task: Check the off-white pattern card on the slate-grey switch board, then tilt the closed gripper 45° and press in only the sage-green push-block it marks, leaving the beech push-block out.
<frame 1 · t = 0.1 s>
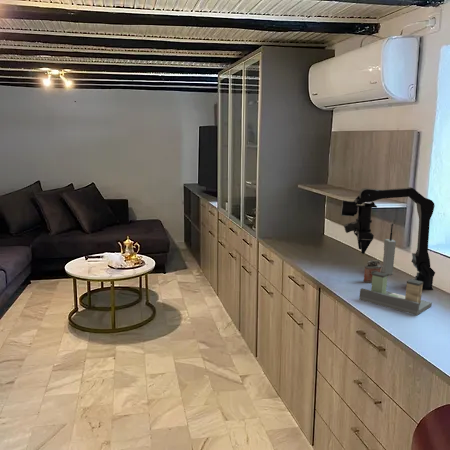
hand: (361, 251, 208), 15 cm above the cabinet, tool pointing down, fingers open, 9 cm apart
sage block: (379, 284, 188), point 6 cm above the cabinet, slide at 0.0 cm
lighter: (371, 282, 213), on the cabinet
beech block: (413, 292, 179), point 6 cm above the cabinet, slide at 0.0 cm
switch board: (391, 304, 182), on the cabinet
grey upright bar: (386, 273, 228), on the cabinet
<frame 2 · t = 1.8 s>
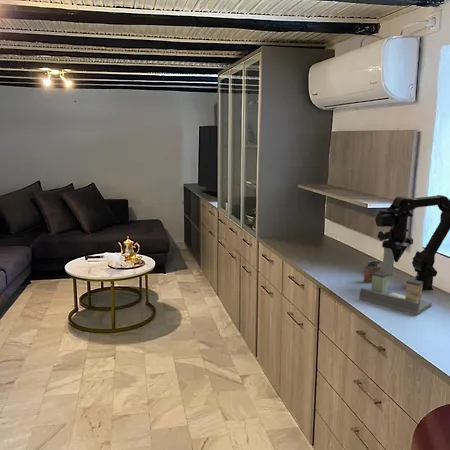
hand: (396, 261, 202), 12 cm above the cabinet, tool pointing down, fingers closed
nothing on the cabinet moved.
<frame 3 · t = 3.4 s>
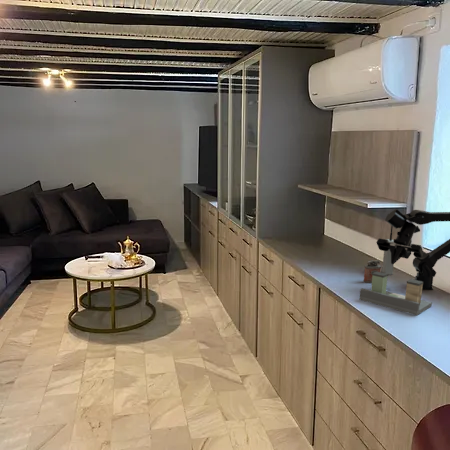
hand: (392, 263, 195), 13 cm above the cabinet, tool tilted 45°, fingers closed
nothing on the cabinet moved.
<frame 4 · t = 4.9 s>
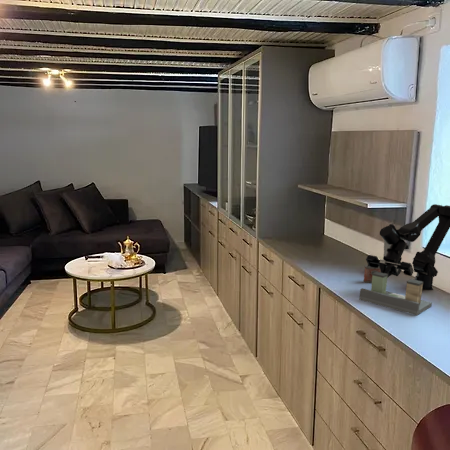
hand: (381, 281, 190), 7 cm above the cabinet, tool tilted 45°, fingers closed, pressing on sage block
sage block: (379, 284, 188), point 6 cm above the cabinet, slide at 0.0 cm, touching gripper
everything else where it was.
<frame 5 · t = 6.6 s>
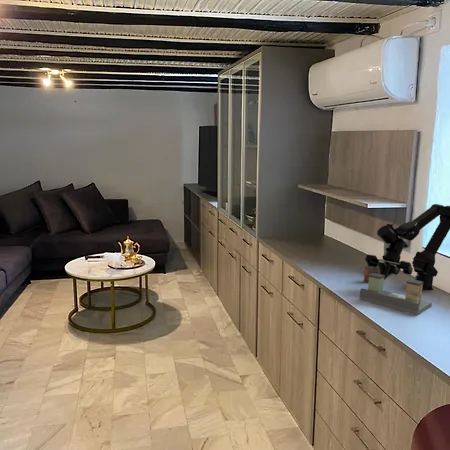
hand: (381, 281, 191), 7 cm above the cabinet, tool tilted 45°, fingers closed
sage block: (375, 285, 186), point 6 cm above the cabinet, slide at 3.0 cm
everything else where it was.
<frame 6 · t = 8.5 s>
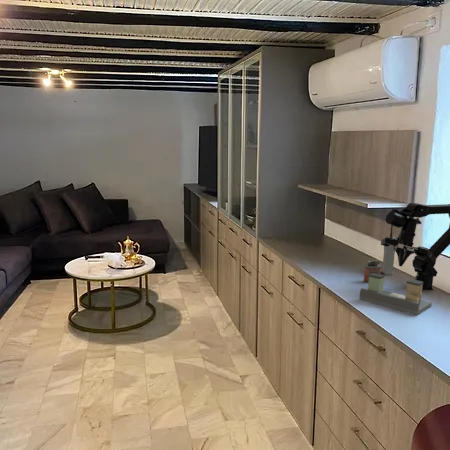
hand: (400, 266, 196), 12 cm above the cabinet, tool tilted 25°, fingers closed
nothing on the cabinet moved.
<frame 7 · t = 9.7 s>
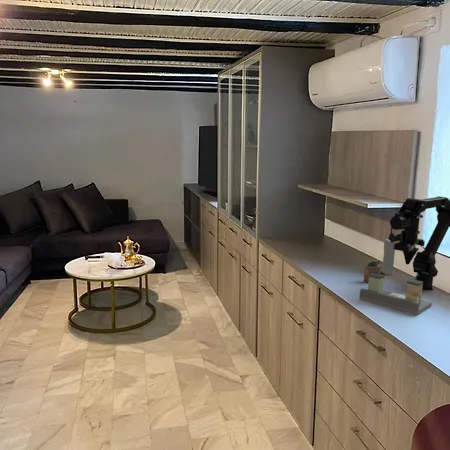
hand: (407, 264, 199), 12 cm above the cabinet, tool pointing down, fingers closed
nothing on the cabinet moved.
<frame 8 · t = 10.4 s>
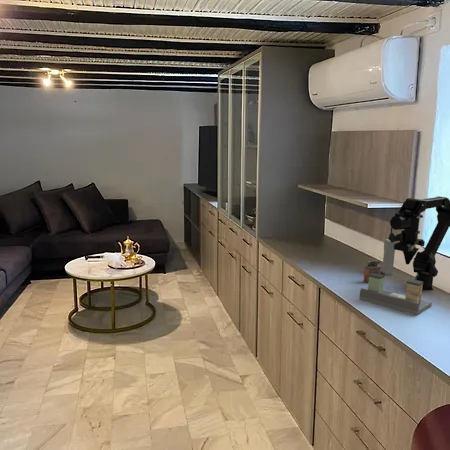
hand: (407, 264, 199), 12 cm above the cabinet, tool pointing down, fingers closed
nothing on the cabinet moved.
at the end: sage block slide at 3.0 cm; beech block slide at 0.0 cm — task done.
